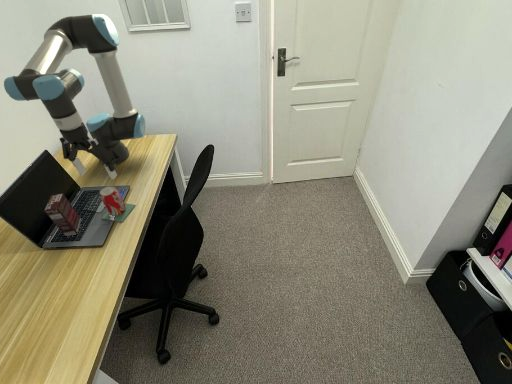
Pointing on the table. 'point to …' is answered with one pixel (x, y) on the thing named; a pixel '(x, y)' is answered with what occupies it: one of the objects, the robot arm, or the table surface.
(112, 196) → the soda can
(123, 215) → the coaster
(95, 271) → the table surface
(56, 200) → the supplement box
